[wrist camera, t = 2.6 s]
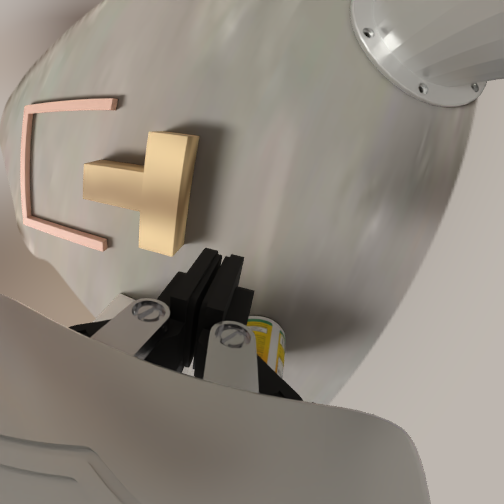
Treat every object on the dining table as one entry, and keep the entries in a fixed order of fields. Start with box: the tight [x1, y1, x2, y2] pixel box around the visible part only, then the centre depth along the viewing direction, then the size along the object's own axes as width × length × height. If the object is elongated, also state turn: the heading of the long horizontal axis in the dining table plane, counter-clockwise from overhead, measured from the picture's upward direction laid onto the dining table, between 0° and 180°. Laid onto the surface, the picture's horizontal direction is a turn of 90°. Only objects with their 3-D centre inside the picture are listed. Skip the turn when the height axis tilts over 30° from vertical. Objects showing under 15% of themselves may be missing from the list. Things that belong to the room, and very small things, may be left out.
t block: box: [83, 131, 200, 257], centre depth 20 cm, size 9×9×2 cm
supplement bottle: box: [247, 316, 285, 378], centre depth 21 cm, size 5×5×10 cm
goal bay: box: [21, 98, 118, 252], centre depth 21 cm, size 14×14×1 cm
